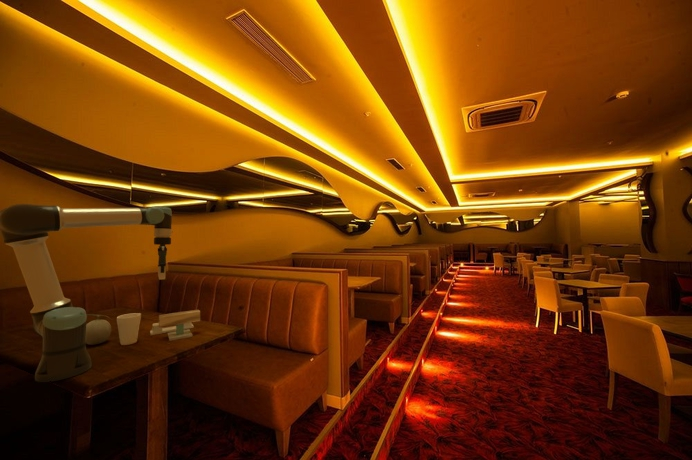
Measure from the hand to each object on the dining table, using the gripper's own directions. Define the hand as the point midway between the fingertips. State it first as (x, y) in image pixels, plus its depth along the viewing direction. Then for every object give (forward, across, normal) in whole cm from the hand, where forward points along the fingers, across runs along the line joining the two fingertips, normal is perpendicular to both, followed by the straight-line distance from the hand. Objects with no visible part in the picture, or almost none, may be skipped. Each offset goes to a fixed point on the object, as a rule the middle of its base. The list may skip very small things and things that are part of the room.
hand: (161, 278), depth 146 cm
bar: (+23, -5, -8) cm, 25 cm away
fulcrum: (+30, -5, -8) cm, 31 cm away
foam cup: (+30, -1, +13) cm, 33 cm away
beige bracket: (+30, +9, -6) cm, 32 cm away
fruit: (+31, +7, +25) cm, 40 cm away
